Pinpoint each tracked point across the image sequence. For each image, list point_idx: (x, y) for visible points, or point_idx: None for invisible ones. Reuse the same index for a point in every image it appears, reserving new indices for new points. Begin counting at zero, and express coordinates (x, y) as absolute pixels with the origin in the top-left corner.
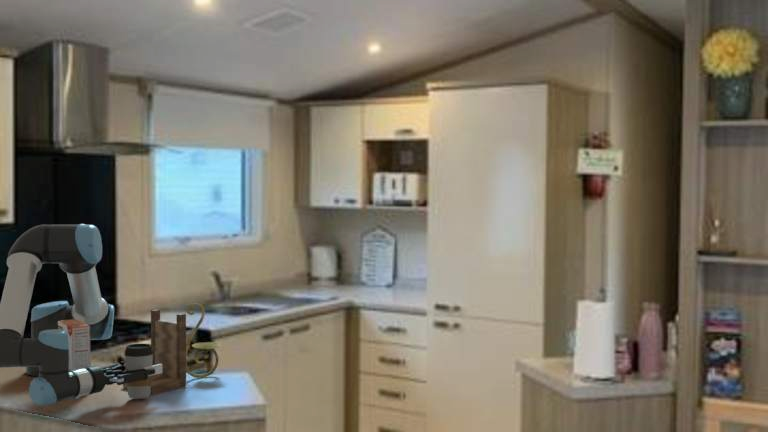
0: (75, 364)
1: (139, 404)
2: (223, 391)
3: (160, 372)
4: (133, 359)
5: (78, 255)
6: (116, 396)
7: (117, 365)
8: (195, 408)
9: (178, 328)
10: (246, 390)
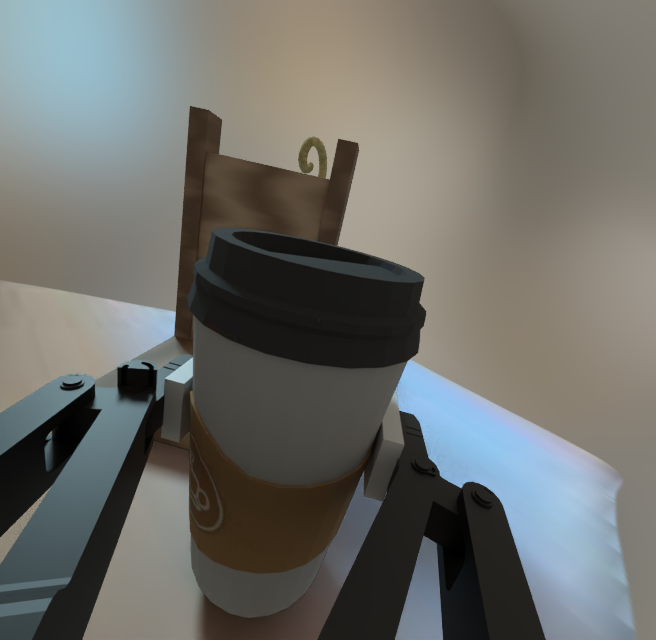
0: None
1: None
2: (425, 399)
3: None
4: (343, 391)
5: None
6: None
7: (102, 418)
8: (603, 593)
9: (336, 199)
10: (453, 387)
